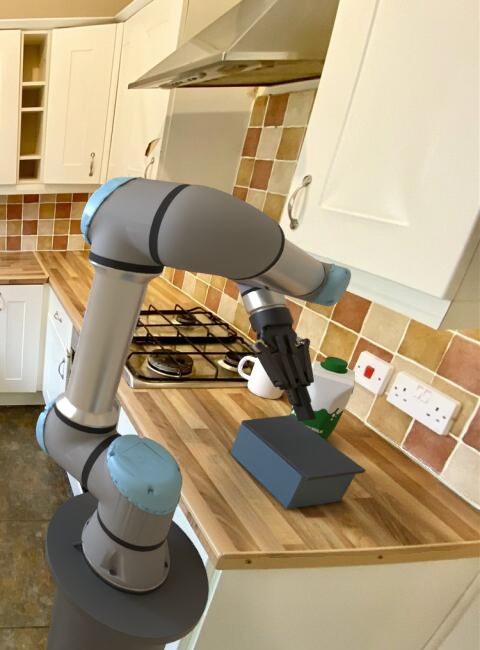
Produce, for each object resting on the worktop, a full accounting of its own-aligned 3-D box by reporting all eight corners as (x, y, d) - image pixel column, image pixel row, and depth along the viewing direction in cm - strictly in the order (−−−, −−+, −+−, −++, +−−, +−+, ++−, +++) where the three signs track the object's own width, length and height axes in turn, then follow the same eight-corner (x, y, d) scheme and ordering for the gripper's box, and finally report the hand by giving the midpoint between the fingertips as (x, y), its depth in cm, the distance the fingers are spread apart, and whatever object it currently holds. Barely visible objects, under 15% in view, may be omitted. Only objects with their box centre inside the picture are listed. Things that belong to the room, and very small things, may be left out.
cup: (275, 403, 113) (288, 372, 108) (228, 384, 121) (238, 354, 117) (285, 391, 118) (297, 361, 113) (238, 374, 126) (248, 345, 121)
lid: (364, 473, 79) (365, 470, 79) (306, 480, 77) (308, 477, 77) (290, 417, 94) (291, 414, 93) (241, 423, 92) (242, 420, 92)
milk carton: (328, 431, 102) (362, 363, 94) (326, 451, 96) (362, 380, 88) (286, 417, 108) (314, 350, 99) (281, 434, 101) (310, 365, 93)
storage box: (340, 501, 84) (358, 469, 80) (286, 509, 82) (302, 476, 78) (277, 447, 98) (290, 417, 94) (230, 453, 96) (241, 423, 92)
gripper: (279, 315, 95) (318, 419, 87) (229, 319, 93) (264, 425, 86) (308, 303, 88) (353, 415, 80) (254, 307, 86) (294, 421, 79)
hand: (307, 420), depth 83 cm, fingers closed
